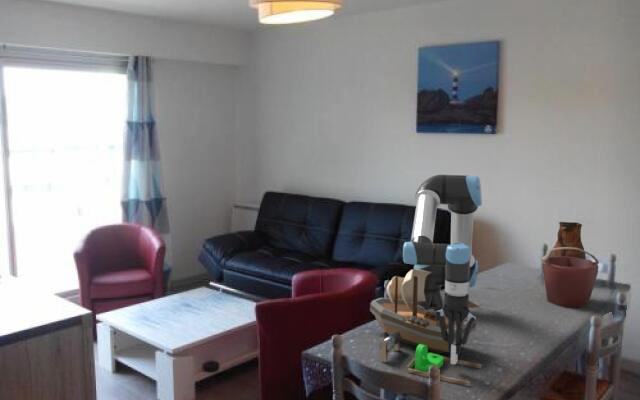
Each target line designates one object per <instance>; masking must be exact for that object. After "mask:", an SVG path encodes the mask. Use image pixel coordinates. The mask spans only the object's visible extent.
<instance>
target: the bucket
mask: <svg viewBox="0 0 640 400" xmlns="http://www.w3.org/2000/svg"><path fill="white" fill-rule="evenodd" d="M566 249H571V250H579V251H581V252H584V253H585V255H588V256H590V257H591V258H592V259H593V260H594V262H593V261H592V260H591V259H587V258H586V259H581V258H575V257H569V256H562V257H550V256H551V254H552V252H553V251H558V250H566ZM540 261H541V262H542V272H543V273H542V274H543V279H544V280H543V281H544V286H545V293H546V300H547V303H548V302H549V303H551V304H553V305H555V306H558V307H562V308H563V307H564V308H572V309H573V308H574V309H580V308H585V307H587V306H589V303H590V299H591V297H592V293H593V290H594V287H595V284H596V280H597V277H598V273H599V263H600V261H599V259H598V258H596V256H595V255H593V254H592V253H589V252H587V251H586V250H585V249H584V250H581V249H579V248H573V247H559V248H554V247H552V248H549V249H547V252H546V253H545V255H544V256H542V257H541V258H540Z"/></svg>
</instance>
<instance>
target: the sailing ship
mask: <svg viewBox="0 0 640 400" xmlns="http://www.w3.org/2000/svg"><path fill="white" fill-rule="evenodd" d="M430 273H432V272H428V271H423V270H419V269H414V268H413V269H410V270H409V271H408V272H407V273H406V275H405V276H404V277H403V276H402V277H401V276H398V275H395V276H393V277H392V278H391V280H389V282H388V284H387V285H386V293H387V297H388V298H387V297H378V298H376V299H373V300H371V302H370V303H369V311H370V312H371V313H372V315H374V317H375V319H376V321H377V323H378V326H379V327H380V328H381V329H382V330H383V331H384V332H385V333H386V334H388V336H389V335H391V334H392V333H393V332H394V331H395V330H396V331H400V334H401V337H402V339H401V341H400V342H402V343H406V344H409V345H412V346H414V347H417V346H418V345H419V344H422V345H426V346H427V348H428V351H431V352H432V353H435V354H442V353H447V352H448V342H446V341H443V338H442V334H441V329H440V324H439V319H438V317H437V315H436V312H437V311H434V309H430V310H425V309H424V308H423V307H421V306H419V305H417V302H418V301H426V300H425V295H424V285H425V278H426V276H427V275H428V274H430ZM412 302H413V303H412ZM470 308H481V306H480V305H478V304H476V303H474V302H473V301H471V300H468V309H470ZM444 318H445V322H446V327H447V332H448V329H449V324H448V318H447V316H446V315H445V313H444ZM467 319H468V318H467V317H466V318H465V319H464V320H463V323H462V339H463V336H464V333H465V329H466V326H467V323H468V322H469V321H468V320H467ZM476 325H477V322H476V320H475V321H474V322H473V324H472V327H471V330H470V333H469V334H471V333H473V332H474V331H476V328H477V327H476ZM456 326H457V325H456V321H455V322H454V341H453V342H456ZM448 353H449V352H448Z"/></svg>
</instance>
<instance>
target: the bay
mask: <svg viewBox="0 0 640 400" xmlns="http://www.w3.org/2000/svg"><path fill="white" fill-rule="evenodd" d="M441 356H442V357H443V362H447V363H451V357H447V356H443V355H441ZM456 364H457V365H460V366H461V365H462V366H465V367H470V368H476V369H480V370H481V369H482V364H481V363H475V362H471V361H466V360H462V359H457V363H456ZM456 364H455V365H456ZM413 367H414V369H413ZM405 369H406V371H407V374H409V373H410V374H413V375H417V376H421V377H424V378H426V377H427V378H429V377H428V372H423V371H419V370H415V357H413V359H412V360H410V362H408V364H407V365H406V366H405ZM439 375H440V380H439V381H444V382H448V383H453V384H457V385H461V386H466V387H470V383H471V382H470V381H467V380H463V379H457V378H453V377H450V376H446V375H445V376H444V375H441V374H439Z"/></svg>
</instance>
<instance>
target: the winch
mask: <svg viewBox="0 0 640 400" xmlns="http://www.w3.org/2000/svg"><path fill="white" fill-rule="evenodd" d="M401 339H402V337H401V334H400V331H396V330H395V331H394V332H393V333H392V334H391V335H389V334H388V336H387V337H385V338H384V340H383V341H381V342H380V343H379V350H380V351H381V352H380V353H381V354H380V355H381V357H380V362H381V363H387V362H388V357H389V356H388V354H389V352H391V351H392V350H393V351H394V352H399V351H400V342H401Z"/></svg>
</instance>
